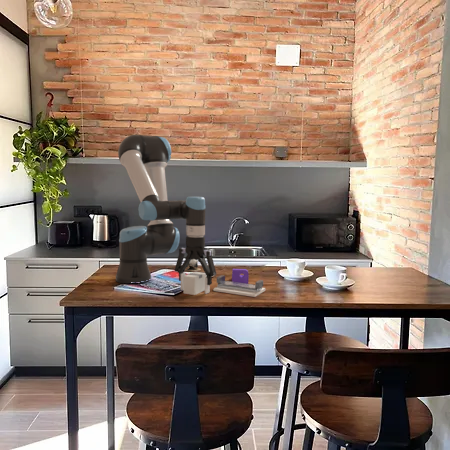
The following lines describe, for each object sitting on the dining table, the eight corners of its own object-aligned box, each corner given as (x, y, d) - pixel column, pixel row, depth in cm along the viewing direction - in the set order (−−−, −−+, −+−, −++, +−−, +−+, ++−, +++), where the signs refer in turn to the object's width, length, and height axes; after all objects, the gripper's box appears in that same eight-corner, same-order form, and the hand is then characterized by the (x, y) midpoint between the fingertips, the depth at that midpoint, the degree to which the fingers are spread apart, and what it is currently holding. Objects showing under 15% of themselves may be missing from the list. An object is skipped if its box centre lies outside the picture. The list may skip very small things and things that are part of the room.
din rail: (215, 286, 174) (215, 277, 173) (222, 283, 179) (222, 274, 179) (258, 293, 166) (258, 283, 165) (263, 289, 171) (264, 280, 171)
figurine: (198, 265, 203) (183, 247, 208) (188, 279, 208) (174, 261, 212) (209, 262, 210) (194, 245, 215) (198, 276, 214) (184, 259, 219)
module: (183, 293, 167) (183, 275, 167) (195, 288, 175) (195, 271, 175) (194, 295, 165) (194, 277, 164) (205, 290, 173) (206, 272, 172)
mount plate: (213, 290, 172) (213, 288, 171) (225, 285, 181) (225, 282, 181) (254, 296, 164) (255, 294, 164) (265, 290, 173) (265, 288, 173)
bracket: (248, 286, 182) (248, 270, 181) (232, 285, 182) (232, 269, 181) (247, 279, 194) (247, 264, 193) (231, 279, 194) (232, 264, 193)
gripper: (165, 234, 170) (165, 289, 172) (216, 239, 159) (216, 297, 162) (176, 232, 176) (175, 285, 179) (225, 237, 166) (224, 292, 168)
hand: (195, 291), depth 170 cm, fingers open, 10 cm apart
